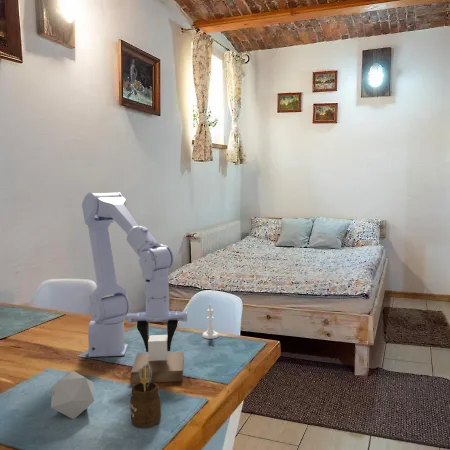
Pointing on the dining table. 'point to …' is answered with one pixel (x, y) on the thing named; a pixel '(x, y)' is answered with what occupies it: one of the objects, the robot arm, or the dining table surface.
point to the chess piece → (210, 326)
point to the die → (72, 395)
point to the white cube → (157, 347)
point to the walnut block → (159, 368)
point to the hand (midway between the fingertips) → (158, 350)
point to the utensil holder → (145, 402)
